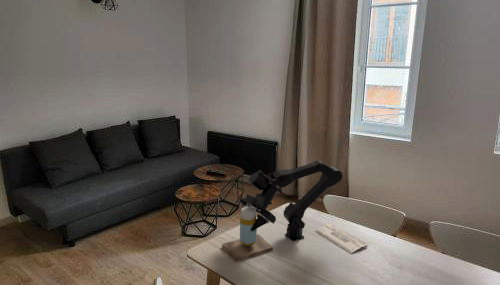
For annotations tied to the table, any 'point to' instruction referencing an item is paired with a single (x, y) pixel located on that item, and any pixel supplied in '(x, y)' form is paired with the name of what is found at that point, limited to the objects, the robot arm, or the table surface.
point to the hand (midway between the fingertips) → (245, 227)
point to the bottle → (248, 226)
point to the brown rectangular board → (246, 248)
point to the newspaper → (341, 238)
